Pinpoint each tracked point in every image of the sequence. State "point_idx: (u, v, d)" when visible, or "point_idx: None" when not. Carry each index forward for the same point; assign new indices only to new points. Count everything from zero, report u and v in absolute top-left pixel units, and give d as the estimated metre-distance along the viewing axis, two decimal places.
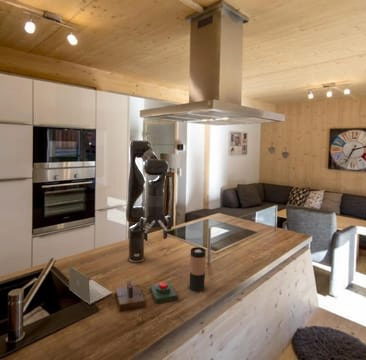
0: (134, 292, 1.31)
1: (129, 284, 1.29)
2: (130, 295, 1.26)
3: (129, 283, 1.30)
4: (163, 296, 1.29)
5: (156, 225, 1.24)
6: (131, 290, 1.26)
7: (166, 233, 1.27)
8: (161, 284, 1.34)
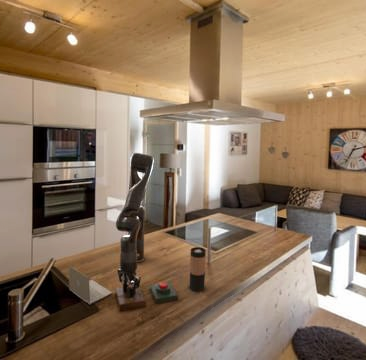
0: None
1: None
2: (128, 295, 1.26)
3: None
4: (163, 296, 1.29)
5: (127, 279, 1.27)
6: (129, 291, 1.26)
7: (132, 291, 1.26)
8: (161, 284, 1.34)
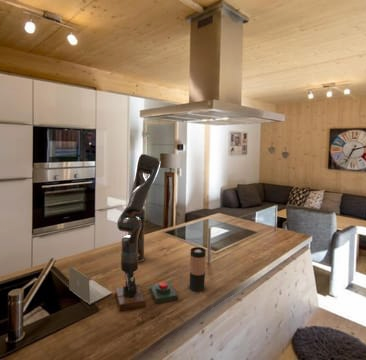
0: None
1: None
2: (123, 293, 1.28)
3: None
4: (163, 296, 1.29)
5: None
6: (123, 289, 1.27)
7: (129, 293, 1.24)
8: (161, 284, 1.34)
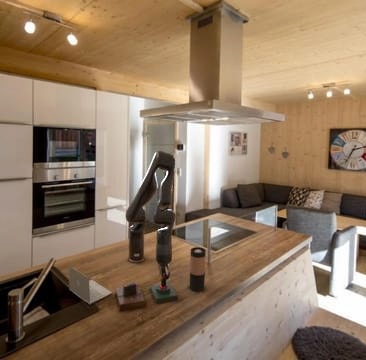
0: None
1: (130, 284, 1.29)
2: (123, 293, 1.28)
3: (132, 284, 1.29)
4: (163, 296, 1.29)
5: None
6: (123, 289, 1.27)
7: (162, 282, 1.33)
8: (161, 286, 1.34)
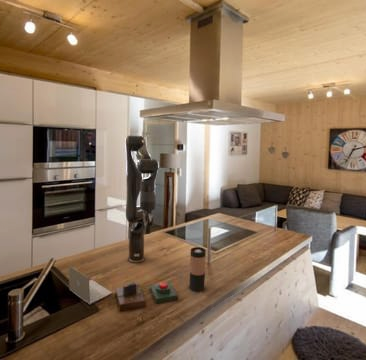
0: None
1: (130, 284, 1.29)
2: (123, 293, 1.28)
3: (132, 284, 1.29)
4: (163, 296, 1.29)
5: None
6: (123, 289, 1.27)
7: (146, 229, 1.39)
8: (161, 284, 1.34)
